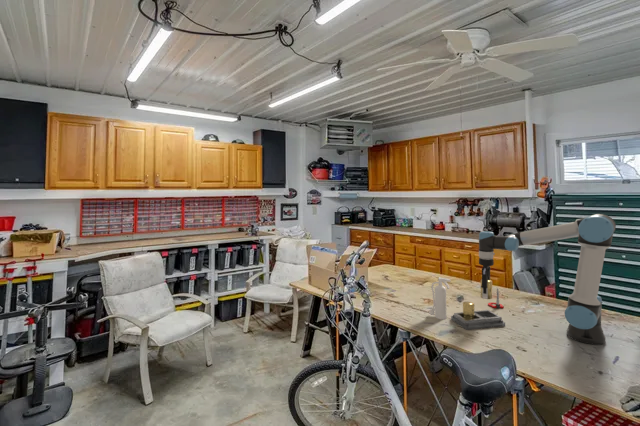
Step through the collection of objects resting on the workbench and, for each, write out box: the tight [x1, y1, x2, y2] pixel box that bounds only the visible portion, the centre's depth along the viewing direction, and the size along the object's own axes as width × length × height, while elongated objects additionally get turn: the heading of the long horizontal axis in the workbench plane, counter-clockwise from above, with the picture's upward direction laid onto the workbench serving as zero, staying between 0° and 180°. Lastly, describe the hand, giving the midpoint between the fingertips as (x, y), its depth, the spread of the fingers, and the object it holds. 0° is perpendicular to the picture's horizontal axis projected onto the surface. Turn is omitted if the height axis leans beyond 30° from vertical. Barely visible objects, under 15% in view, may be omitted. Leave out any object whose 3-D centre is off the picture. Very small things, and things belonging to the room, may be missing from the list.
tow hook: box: [487, 288, 504, 309], centre depth 205 cm, size 8×13×9 cm
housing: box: [450, 301, 506, 331], centre depth 180 cm, size 15×24×12 cm, turn 98°
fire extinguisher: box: [428, 276, 451, 320], centre depth 189 cm, size 7×12×25 cm, turn 62°
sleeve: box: [480, 279, 493, 300], centre depth 180 cm, size 6×6×10 cm
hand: (486, 296), depth 180 cm, fingers closed on sleeve, 6 cm apart
